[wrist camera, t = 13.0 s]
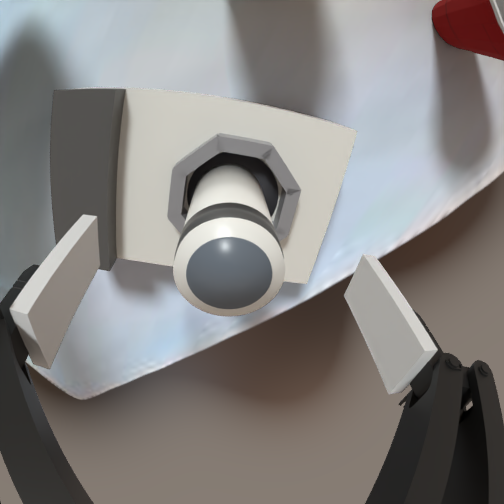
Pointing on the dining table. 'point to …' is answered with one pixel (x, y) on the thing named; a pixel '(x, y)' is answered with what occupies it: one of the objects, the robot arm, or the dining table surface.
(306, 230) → the camera body
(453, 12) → the plastic cup
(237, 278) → the lens
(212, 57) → the dining table surface
